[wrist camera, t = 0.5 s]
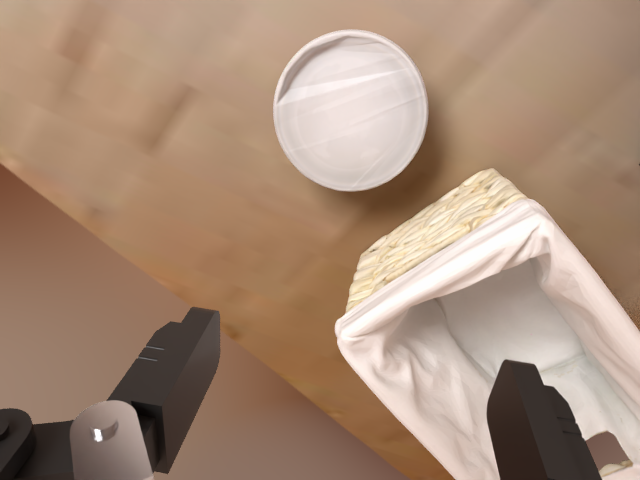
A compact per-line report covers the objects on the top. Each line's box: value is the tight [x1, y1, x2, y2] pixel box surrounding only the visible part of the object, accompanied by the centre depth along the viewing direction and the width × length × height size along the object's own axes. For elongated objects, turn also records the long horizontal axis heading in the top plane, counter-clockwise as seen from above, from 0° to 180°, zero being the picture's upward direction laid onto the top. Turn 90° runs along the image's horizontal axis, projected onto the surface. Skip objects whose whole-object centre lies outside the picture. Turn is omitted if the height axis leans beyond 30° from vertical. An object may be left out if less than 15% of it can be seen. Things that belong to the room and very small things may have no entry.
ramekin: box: [273, 30, 428, 192], centre depth 35 cm, size 11×11×5 cm
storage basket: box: [335, 168, 640, 480], centre depth 37 cm, size 24×16×15 cm
